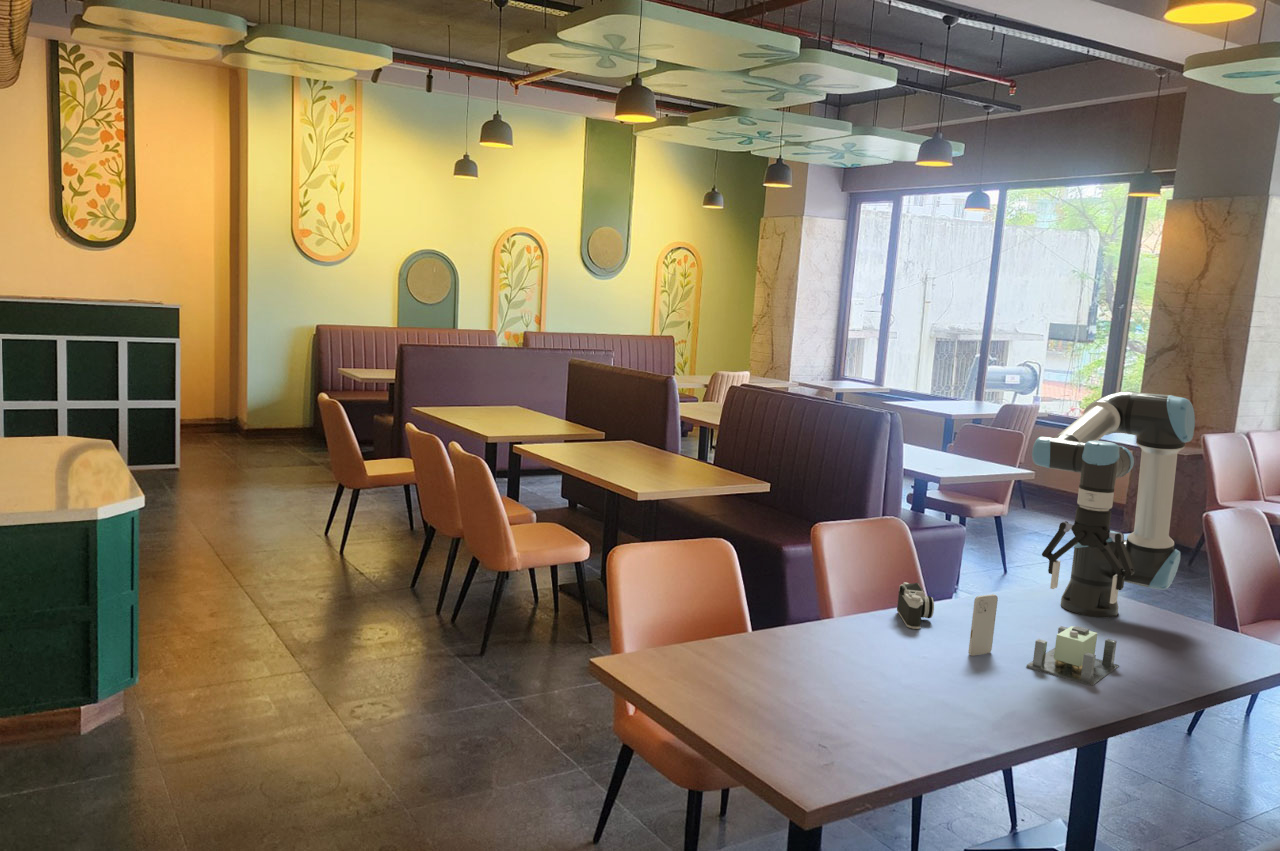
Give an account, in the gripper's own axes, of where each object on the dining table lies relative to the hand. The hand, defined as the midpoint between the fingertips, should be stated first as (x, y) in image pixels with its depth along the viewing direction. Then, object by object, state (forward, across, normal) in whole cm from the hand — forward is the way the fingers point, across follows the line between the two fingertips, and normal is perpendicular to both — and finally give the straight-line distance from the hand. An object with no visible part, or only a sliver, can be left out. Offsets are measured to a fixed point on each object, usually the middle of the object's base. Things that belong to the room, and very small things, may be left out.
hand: (1082, 595), depth 232 cm
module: (+15, 0, -1) cm, 15 cm away
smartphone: (+18, -19, -10) cm, 28 cm away
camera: (+19, -42, +2) cm, 46 cm away
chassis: (+18, 0, 0) cm, 18 cm away
